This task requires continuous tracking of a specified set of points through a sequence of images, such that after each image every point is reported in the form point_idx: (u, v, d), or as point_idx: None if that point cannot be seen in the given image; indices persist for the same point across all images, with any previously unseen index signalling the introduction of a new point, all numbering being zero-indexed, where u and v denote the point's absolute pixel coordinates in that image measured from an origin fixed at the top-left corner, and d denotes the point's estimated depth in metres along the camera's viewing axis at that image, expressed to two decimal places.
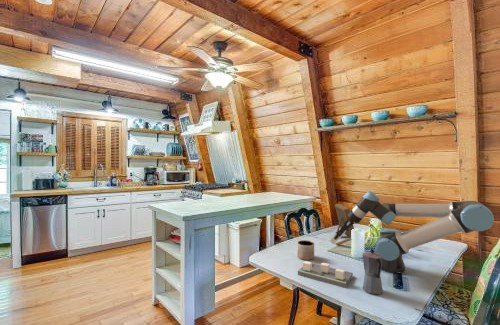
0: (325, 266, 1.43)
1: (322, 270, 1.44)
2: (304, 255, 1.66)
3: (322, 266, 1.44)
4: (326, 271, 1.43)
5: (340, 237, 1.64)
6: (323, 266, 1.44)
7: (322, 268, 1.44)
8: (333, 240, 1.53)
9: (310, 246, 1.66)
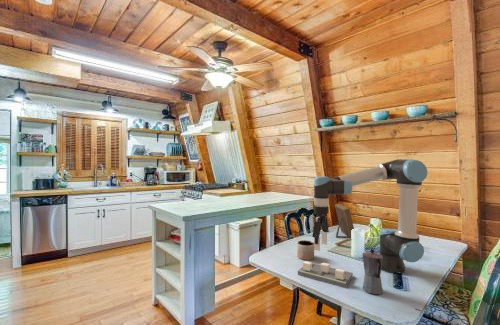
0: (325, 266, 1.43)
1: (322, 270, 1.44)
2: (304, 255, 1.66)
3: (322, 266, 1.44)
4: (326, 271, 1.43)
5: (326, 243, 1.42)
6: (323, 266, 1.44)
7: (322, 268, 1.44)
8: (316, 246, 1.33)
9: (310, 246, 1.66)
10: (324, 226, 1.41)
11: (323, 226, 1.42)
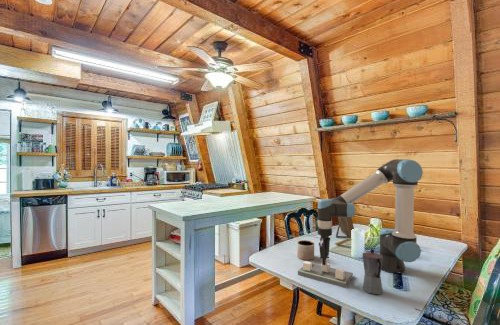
0: None
1: (322, 270, 1.45)
2: (304, 255, 1.66)
3: None
4: (326, 271, 1.43)
5: (326, 269, 1.43)
6: None
7: None
8: (324, 267, 1.43)
9: (310, 246, 1.66)
10: None
11: None
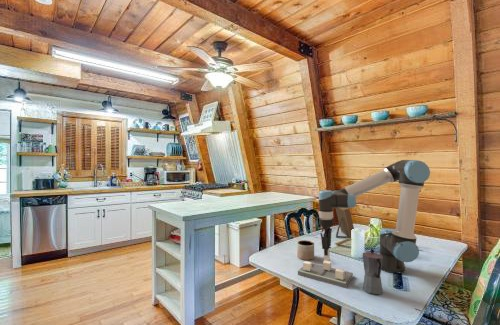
0: (327, 264, 1.46)
1: (324, 268, 1.47)
2: (304, 255, 1.66)
3: (324, 264, 1.47)
4: (328, 269, 1.46)
5: (329, 259, 1.45)
6: (325, 264, 1.47)
7: (324, 266, 1.47)
8: (326, 257, 1.45)
9: (310, 246, 1.66)
10: None
11: None
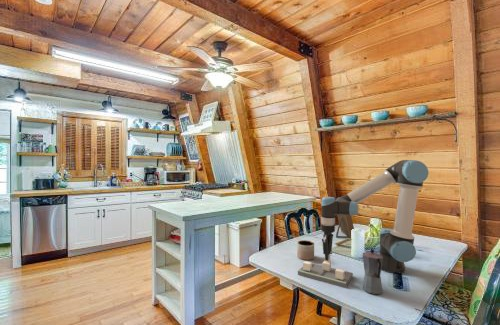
0: (326, 264, 1.45)
1: (323, 268, 1.46)
2: (304, 255, 1.66)
3: (323, 264, 1.46)
4: (327, 269, 1.45)
5: None
6: (324, 264, 1.46)
7: (323, 266, 1.46)
8: None
9: (310, 246, 1.66)
10: None
11: None
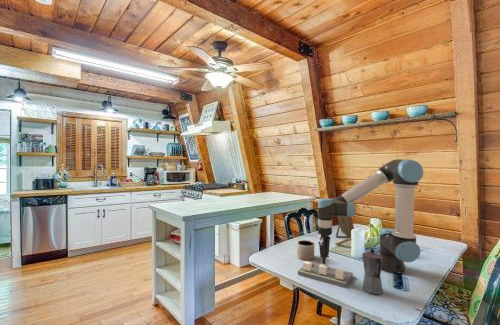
0: (323, 268, 1.40)
1: (320, 272, 1.41)
2: (304, 255, 1.66)
3: (320, 268, 1.41)
4: (324, 273, 1.40)
5: None
6: (321, 268, 1.41)
7: (320, 270, 1.41)
8: None
9: (310, 246, 1.66)
10: None
11: None
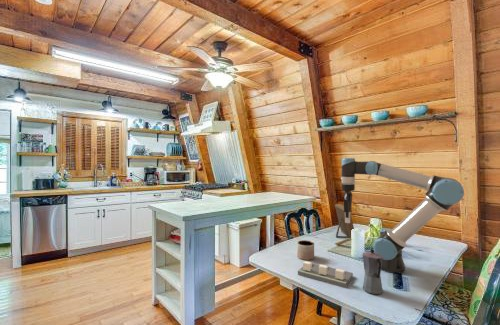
0: (323, 268, 1.40)
1: (320, 272, 1.41)
2: (304, 255, 1.66)
3: (320, 268, 1.41)
4: (324, 273, 1.40)
5: (349, 221, 1.56)
6: (321, 268, 1.41)
7: (320, 270, 1.41)
8: (347, 220, 1.56)
9: (310, 246, 1.66)
10: None
11: None
